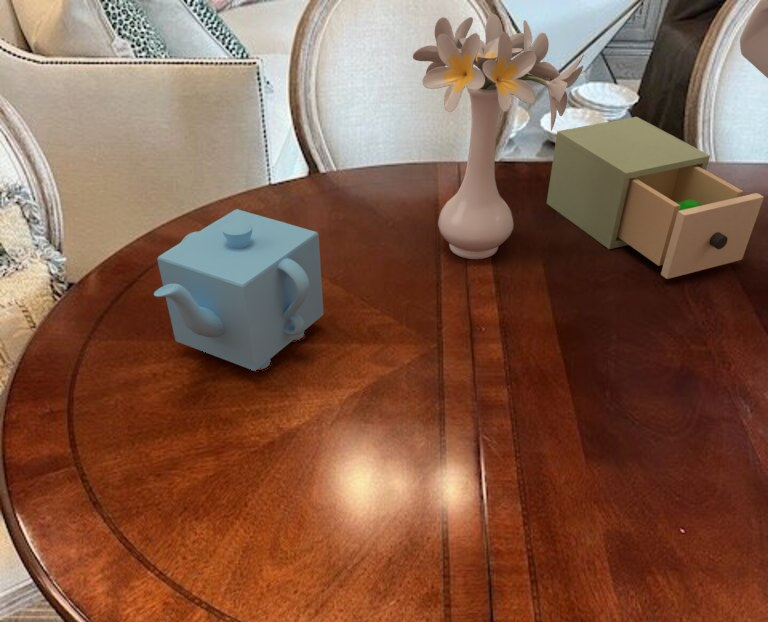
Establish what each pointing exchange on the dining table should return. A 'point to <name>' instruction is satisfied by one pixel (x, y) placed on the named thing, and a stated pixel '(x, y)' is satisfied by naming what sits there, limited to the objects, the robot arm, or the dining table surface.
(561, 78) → the flower vase
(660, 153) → the cabinet
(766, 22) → the robot arm
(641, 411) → the dining table surface
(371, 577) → the dining table surface
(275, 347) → the teapot
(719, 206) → the drawer
